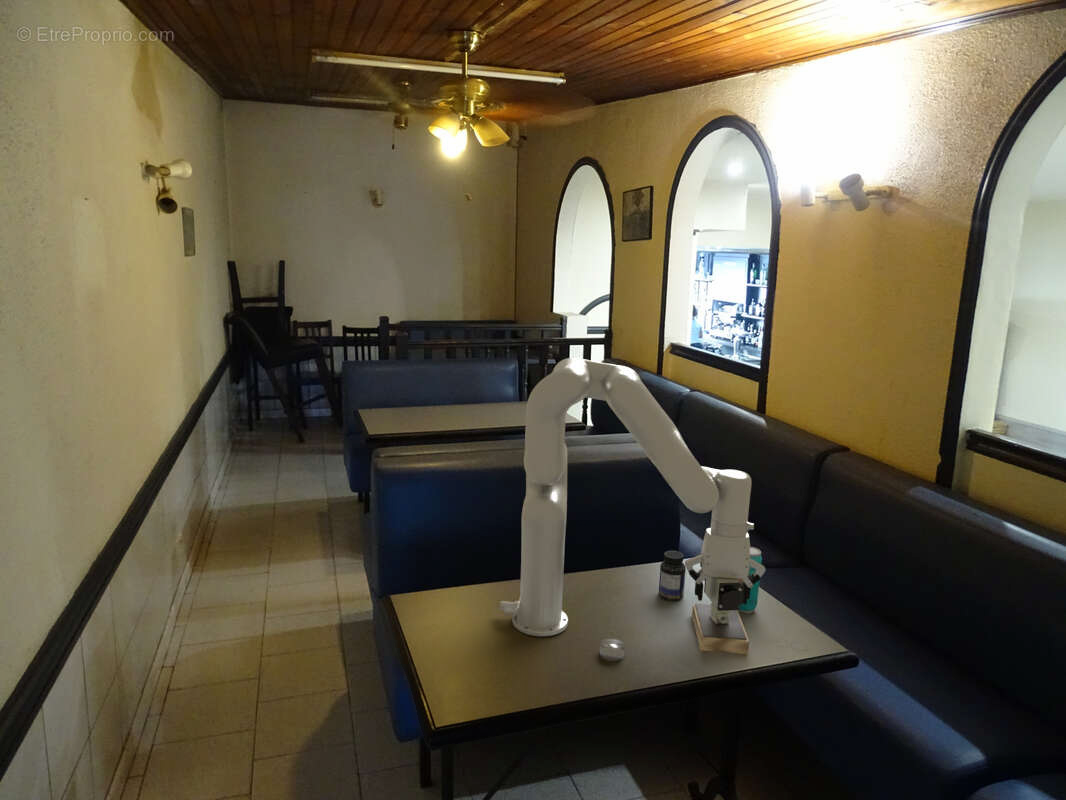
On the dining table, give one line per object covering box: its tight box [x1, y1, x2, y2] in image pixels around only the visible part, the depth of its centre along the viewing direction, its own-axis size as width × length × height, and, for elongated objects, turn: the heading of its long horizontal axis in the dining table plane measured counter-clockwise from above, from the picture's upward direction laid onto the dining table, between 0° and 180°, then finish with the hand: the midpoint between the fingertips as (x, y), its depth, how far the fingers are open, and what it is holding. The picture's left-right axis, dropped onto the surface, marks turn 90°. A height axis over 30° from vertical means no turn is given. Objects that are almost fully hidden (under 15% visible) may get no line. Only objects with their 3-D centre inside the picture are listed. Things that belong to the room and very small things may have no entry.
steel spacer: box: [599, 638, 625, 662], centre depth 154 cm, size 5×5×2 cm
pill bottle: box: [658, 550, 687, 602], centre depth 180 cm, size 6×6×11 cm
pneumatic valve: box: [703, 577, 743, 624], centre depth 162 cm, size 6×12×12 cm, turn 7°
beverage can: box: [738, 546, 763, 614], centre depth 174 cm, size 6×6×15 cm
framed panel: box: [691, 603, 750, 655], centre depth 164 cm, size 10×15×3 cm, turn 175°
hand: (721, 599), depth 162 cm, fingers open, 9 cm apart
